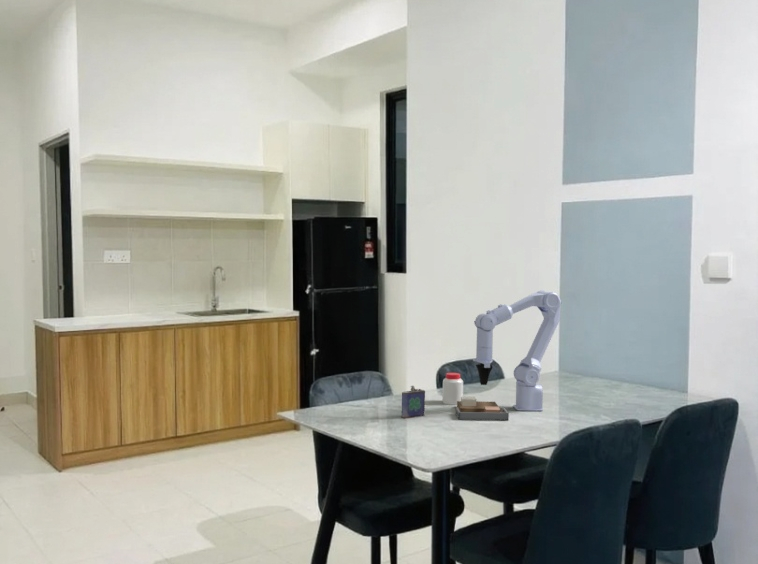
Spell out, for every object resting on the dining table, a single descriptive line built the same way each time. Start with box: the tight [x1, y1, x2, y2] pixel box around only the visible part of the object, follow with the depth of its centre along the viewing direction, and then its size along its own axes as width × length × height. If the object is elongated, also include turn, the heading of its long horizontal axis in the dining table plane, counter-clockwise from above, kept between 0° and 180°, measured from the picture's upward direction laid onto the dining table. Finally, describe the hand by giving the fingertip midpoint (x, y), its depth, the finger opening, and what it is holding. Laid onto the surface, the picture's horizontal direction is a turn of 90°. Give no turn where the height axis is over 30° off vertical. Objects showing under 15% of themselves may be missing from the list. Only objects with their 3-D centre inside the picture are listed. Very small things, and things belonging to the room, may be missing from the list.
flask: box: [401, 385, 426, 419], centre depth 251 cm, size 9×3×11 cm, turn 121°
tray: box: [455, 406, 510, 421], centre depth 251 cm, size 17×9×2 cm, turn 89°
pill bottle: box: [442, 372, 464, 406], centre depth 274 cm, size 8×8×11 cm
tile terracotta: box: [484, 406, 501, 413], centre depth 252 cm, size 5×5×2 cm
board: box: [456, 400, 499, 412], centre depth 262 cm, size 14×12×2 cm
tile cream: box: [461, 395, 477, 406], centre depth 261 cm, size 5×5×2 cm
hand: (483, 384), depth 261 cm, fingers closed
